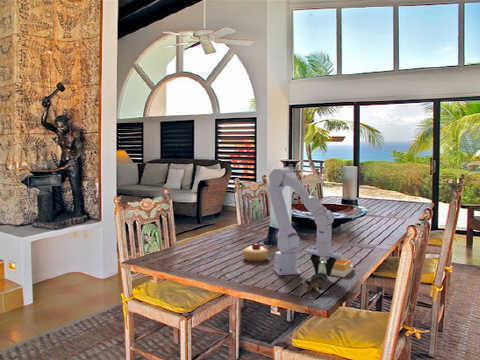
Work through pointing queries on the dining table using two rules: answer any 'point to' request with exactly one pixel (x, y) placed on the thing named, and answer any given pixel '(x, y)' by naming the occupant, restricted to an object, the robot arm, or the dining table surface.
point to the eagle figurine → (315, 281)
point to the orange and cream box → (341, 268)
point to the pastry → (255, 253)
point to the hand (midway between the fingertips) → (323, 274)
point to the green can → (323, 268)
